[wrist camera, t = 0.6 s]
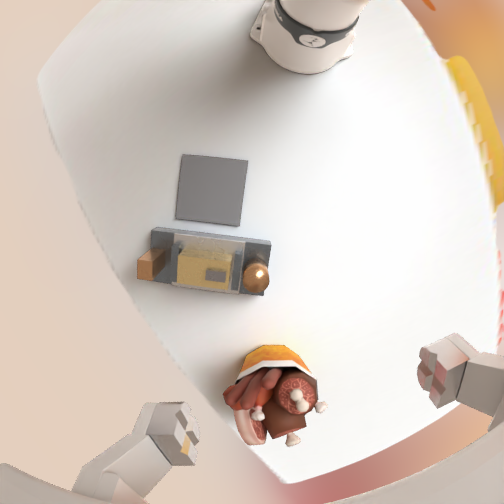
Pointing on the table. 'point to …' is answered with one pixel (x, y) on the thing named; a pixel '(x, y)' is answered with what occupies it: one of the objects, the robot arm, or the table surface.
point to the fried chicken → (272, 395)
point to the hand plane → (174, 241)
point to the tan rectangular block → (204, 269)
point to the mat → (211, 189)
